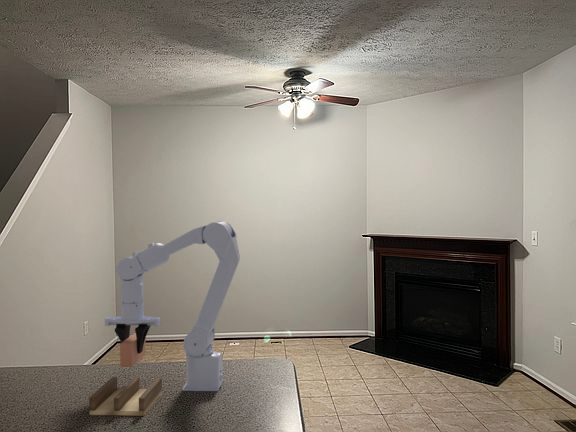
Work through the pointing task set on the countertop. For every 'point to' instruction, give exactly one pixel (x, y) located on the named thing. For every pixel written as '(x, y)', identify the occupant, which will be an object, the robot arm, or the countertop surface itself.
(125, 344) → the book
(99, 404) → the book rack
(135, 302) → the robot arm
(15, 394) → the countertop surface
